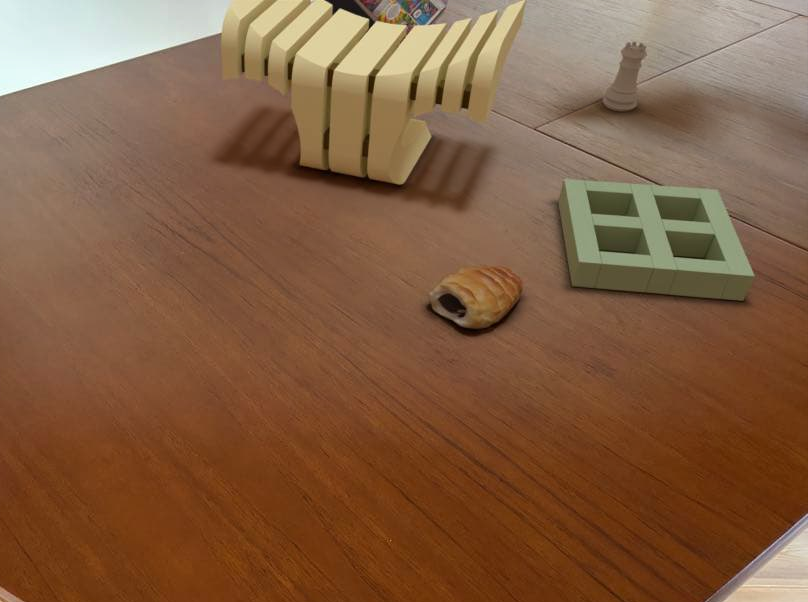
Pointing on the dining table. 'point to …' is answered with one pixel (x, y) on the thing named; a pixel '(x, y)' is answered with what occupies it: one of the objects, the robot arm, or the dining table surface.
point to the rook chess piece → (626, 79)
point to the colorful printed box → (394, 11)
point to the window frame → (652, 240)
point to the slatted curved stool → (366, 77)
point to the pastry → (476, 295)
